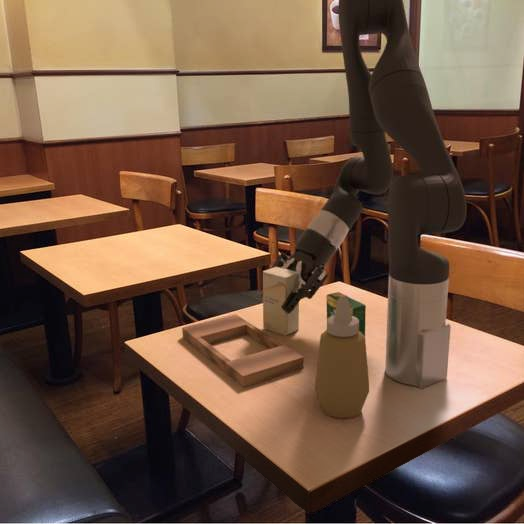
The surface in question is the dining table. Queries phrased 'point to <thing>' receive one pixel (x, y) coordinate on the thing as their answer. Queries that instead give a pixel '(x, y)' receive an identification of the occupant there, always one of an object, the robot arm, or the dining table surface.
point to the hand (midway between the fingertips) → (274, 305)
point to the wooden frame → (250, 366)
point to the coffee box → (355, 308)
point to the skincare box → (279, 300)
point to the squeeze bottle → (342, 364)
